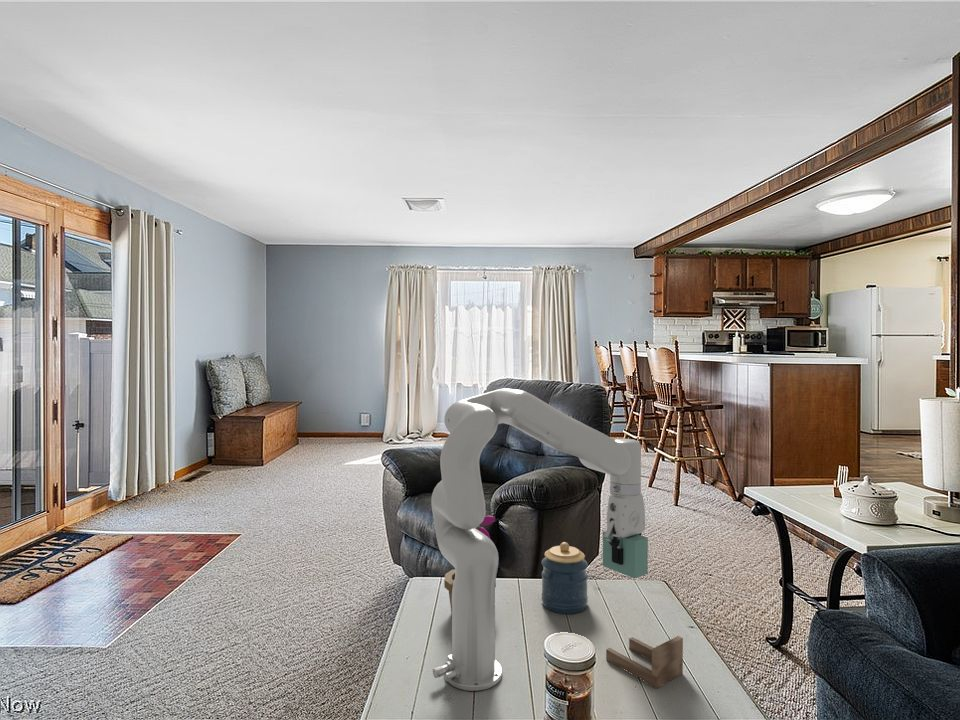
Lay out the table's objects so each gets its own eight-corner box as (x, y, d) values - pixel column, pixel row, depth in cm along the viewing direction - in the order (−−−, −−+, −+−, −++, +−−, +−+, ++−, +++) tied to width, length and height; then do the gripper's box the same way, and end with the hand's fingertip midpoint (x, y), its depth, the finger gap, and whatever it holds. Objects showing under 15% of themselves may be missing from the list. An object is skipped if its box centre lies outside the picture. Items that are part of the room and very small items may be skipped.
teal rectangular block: (634, 578, 136) (635, 541, 135) (602, 565, 144) (603, 531, 143) (647, 573, 139) (647, 537, 138) (615, 561, 147) (615, 527, 146)
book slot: (656, 688, 119) (656, 651, 119) (606, 660, 130) (606, 625, 130) (682, 673, 124) (682, 638, 124) (632, 647, 136) (632, 614, 135)
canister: (556, 618, 150) (557, 553, 150) (533, 599, 162) (533, 538, 162) (597, 609, 155) (597, 546, 155) (571, 591, 167) (571, 532, 167)
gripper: (615, 496, 133) (614, 573, 133) (658, 486, 143) (658, 557, 143) (591, 490, 139) (590, 563, 139) (634, 481, 149) (633, 549, 149)
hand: (624, 559), depth 141 cm, fingers closed on teal rectangular block, 5 cm apart
